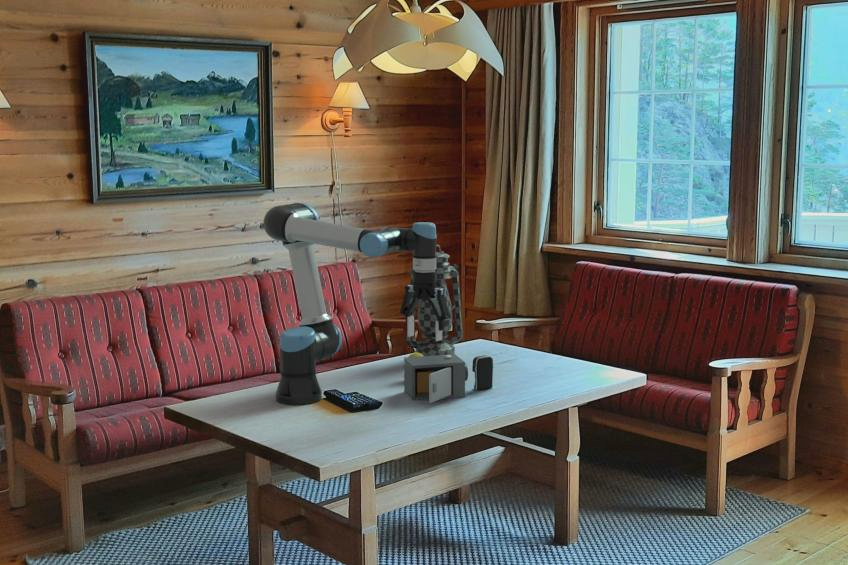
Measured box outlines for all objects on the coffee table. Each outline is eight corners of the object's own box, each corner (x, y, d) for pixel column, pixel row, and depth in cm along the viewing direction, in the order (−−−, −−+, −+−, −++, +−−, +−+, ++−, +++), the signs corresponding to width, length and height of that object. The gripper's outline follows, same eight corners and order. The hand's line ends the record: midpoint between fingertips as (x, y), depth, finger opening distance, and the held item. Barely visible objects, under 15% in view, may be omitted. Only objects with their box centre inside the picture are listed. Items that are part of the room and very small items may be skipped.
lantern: (416, 370, 377) (416, 249, 370) (396, 359, 393) (395, 244, 386) (473, 363, 388) (474, 246, 380) (452, 353, 404) (452, 240, 396)
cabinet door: (432, 403, 329) (432, 374, 328) (429, 402, 330) (429, 374, 328) (452, 394, 339) (452, 367, 337) (449, 394, 339) (449, 366, 338)
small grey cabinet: (413, 401, 336) (412, 363, 334) (404, 391, 348) (404, 355, 346) (470, 396, 341) (470, 359, 339) (460, 387, 353) (460, 351, 351)
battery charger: (486, 385, 355) (486, 353, 353) (493, 387, 352) (493, 355, 350) (470, 388, 351) (470, 356, 349) (477, 391, 348) (477, 358, 346)
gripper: (388, 269, 330) (389, 335, 334) (448, 275, 317) (447, 344, 321) (402, 266, 336) (402, 331, 340) (461, 272, 323) (460, 340, 327)
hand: (424, 338), depth 330 cm, fingers open, 10 cm apart
